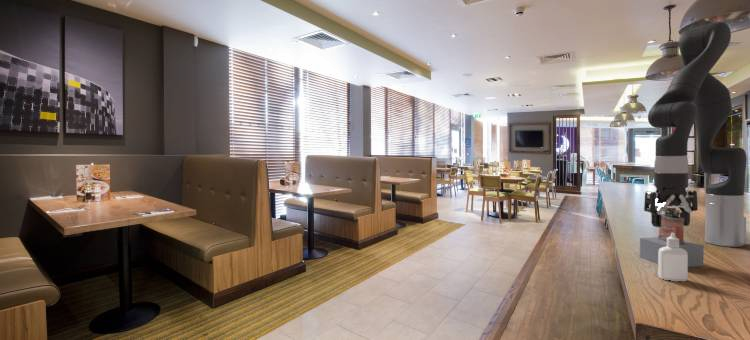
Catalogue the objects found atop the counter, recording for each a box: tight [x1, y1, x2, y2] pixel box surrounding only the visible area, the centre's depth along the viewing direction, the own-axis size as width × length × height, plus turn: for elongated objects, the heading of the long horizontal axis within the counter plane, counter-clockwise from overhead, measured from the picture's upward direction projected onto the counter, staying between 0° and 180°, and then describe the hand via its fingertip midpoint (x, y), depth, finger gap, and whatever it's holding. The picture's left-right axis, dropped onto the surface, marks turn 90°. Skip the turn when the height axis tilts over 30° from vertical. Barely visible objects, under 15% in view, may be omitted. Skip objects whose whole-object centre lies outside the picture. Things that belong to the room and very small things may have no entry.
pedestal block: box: [639, 236, 705, 268], centre depth 100 cm, size 10×10×6 cm
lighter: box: [657, 206, 684, 245], centre depth 100 cm, size 8×3×10 cm, turn 173°
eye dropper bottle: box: [657, 233, 689, 282], centre depth 86 cm, size 4×6×12 cm
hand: (670, 226), depth 100 cm, fingers open, 8 cm apart
